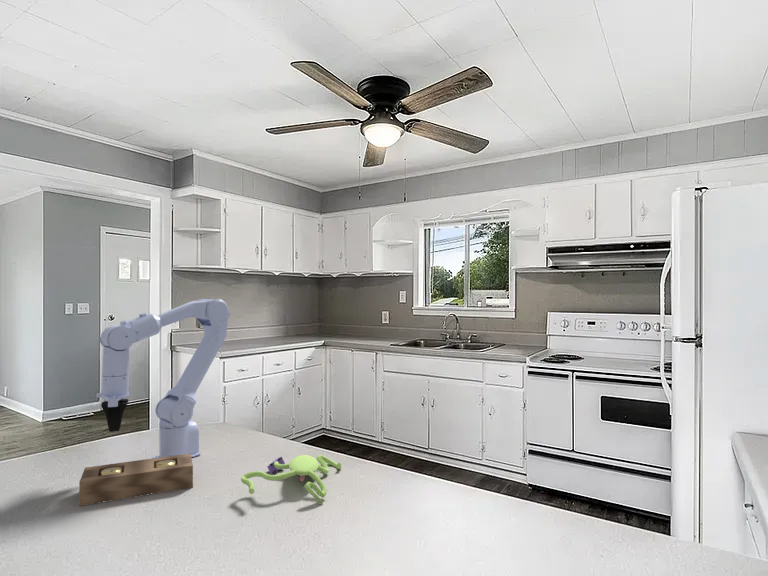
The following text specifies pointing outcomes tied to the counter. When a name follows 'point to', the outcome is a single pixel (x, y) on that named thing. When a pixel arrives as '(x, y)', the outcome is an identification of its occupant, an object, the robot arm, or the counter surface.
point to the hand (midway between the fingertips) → (114, 430)
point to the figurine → (296, 472)
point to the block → (135, 479)
